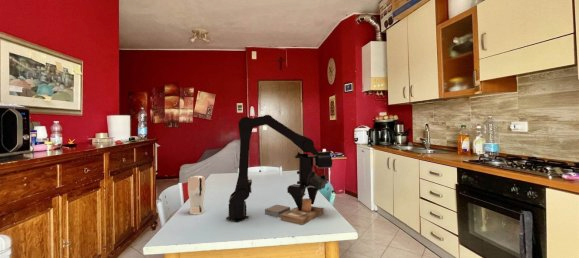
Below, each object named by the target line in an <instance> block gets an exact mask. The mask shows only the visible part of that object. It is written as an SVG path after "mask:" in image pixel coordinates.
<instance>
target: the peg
mask: <svg viewBox="0 0 579 258" xmlns="http://www.w3.org/2000/svg"><path fill="white" fill-rule="evenodd" d="M311 206H312V204H311V199H309V198H303V201H302V211H303V212H308V213H310V212H311Z"/></svg>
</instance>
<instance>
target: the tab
mask: <svg viewBox="0 0 579 258" xmlns="http://www.w3.org/2000/svg"><path fill="white" fill-rule="evenodd" d="M290 210H291V207H290V206H285V205H283V204H281V205H280V204H275V205H273V206H269V207H266V208H265V209H264V215H268V216H272V217H276V218H279V217H280V215H281V214H283V213H285V212H287V211H290Z"/></svg>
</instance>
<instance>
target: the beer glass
mask: <svg viewBox="0 0 579 258" xmlns="http://www.w3.org/2000/svg"><path fill="white" fill-rule="evenodd" d="M205 179H206V178H205V176H204V175H190V176H188V179H187V194H188V198H189V204H190V206H189V214H190V215H201V214H204V213H205V206H204V202H205V201H204V200H205V193H206V180H205Z"/></svg>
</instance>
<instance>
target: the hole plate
mask: <svg viewBox="0 0 579 258" xmlns="http://www.w3.org/2000/svg"><path fill="white" fill-rule="evenodd" d="M322 214H324V208H322V207H319V206H314V205H311V212H310V213H308V212H303V211H302V210H299V209H298V207H297V206H296V207H294V208H292V209H290V211H287V212H285V213H283V214H281V215H280V218H279V219H280V221H283V222H288V223H292V224H296V225H300V226H303V225H305V224H306V223H309V222H311V221H312V220H314V219H317V218H318V217H319V216H321V215H322Z"/></svg>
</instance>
